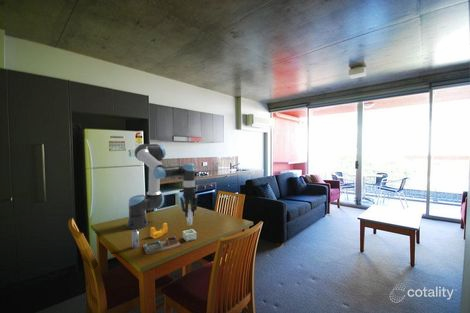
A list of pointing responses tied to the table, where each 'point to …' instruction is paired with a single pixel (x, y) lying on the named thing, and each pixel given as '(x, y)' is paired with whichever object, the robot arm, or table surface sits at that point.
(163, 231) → the pipe clamp
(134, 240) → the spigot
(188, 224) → the pin
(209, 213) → the table surface
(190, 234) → the tray
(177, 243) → the mount
